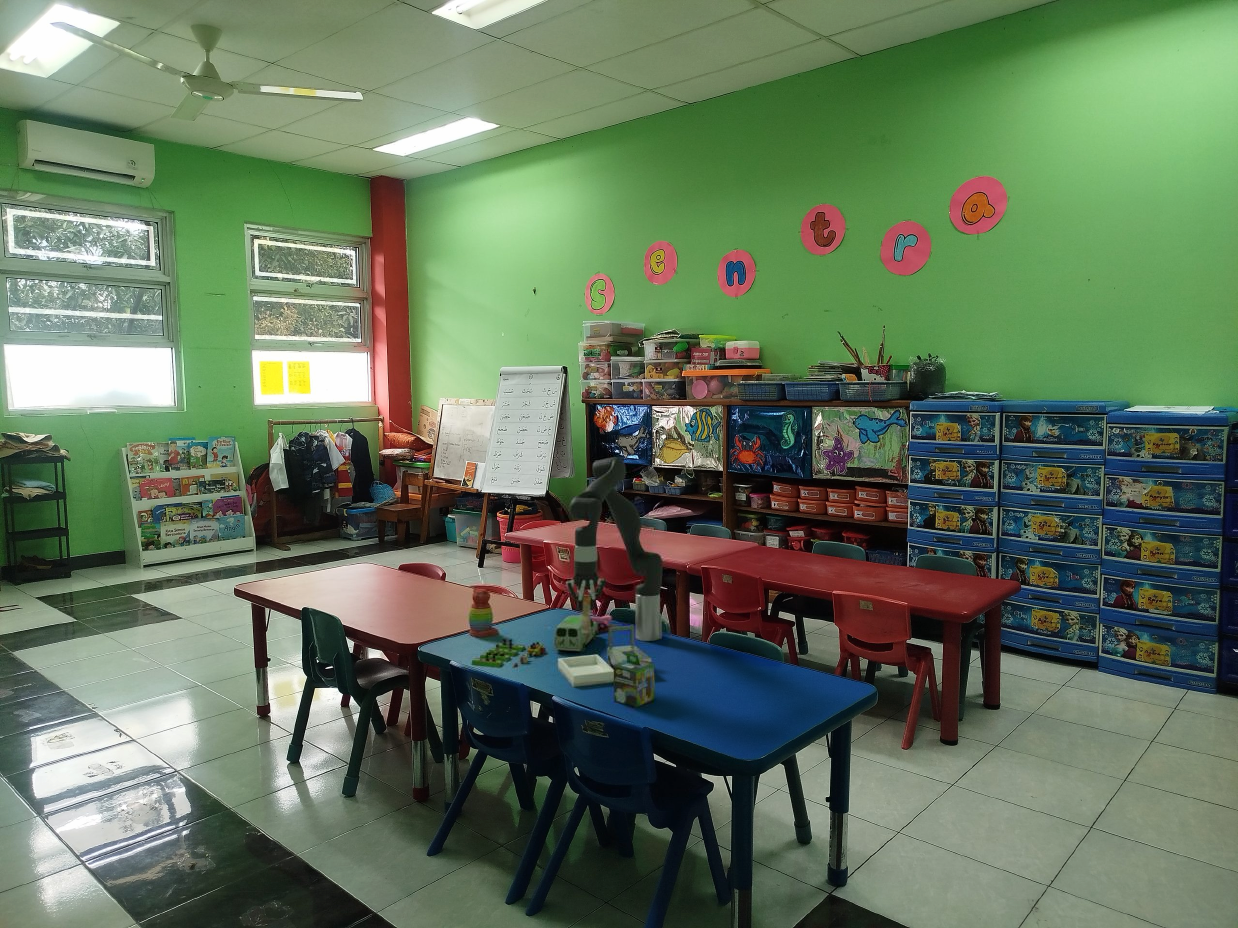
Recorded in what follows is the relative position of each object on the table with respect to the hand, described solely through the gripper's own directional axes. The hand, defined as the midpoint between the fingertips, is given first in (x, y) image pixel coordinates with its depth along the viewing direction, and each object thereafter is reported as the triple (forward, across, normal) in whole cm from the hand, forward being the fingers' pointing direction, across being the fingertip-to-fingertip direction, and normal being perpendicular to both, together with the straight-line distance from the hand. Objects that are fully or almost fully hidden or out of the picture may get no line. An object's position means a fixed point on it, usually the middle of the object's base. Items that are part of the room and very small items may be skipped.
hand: (585, 610), depth 273 cm
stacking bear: (+22, +24, -61) cm, 69 cm away
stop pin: (+7, 0, 0) cm, 7 cm away
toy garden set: (+23, +20, -27) cm, 40 cm away
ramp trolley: (+22, -15, 0) cm, 26 cm away
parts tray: (+22, 0, 0) cm, 22 cm away
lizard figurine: (+23, -20, -53) cm, 61 cm away
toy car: (+22, -7, -35) cm, 42 cm away
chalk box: (+22, -7, +27) cm, 36 cm away
